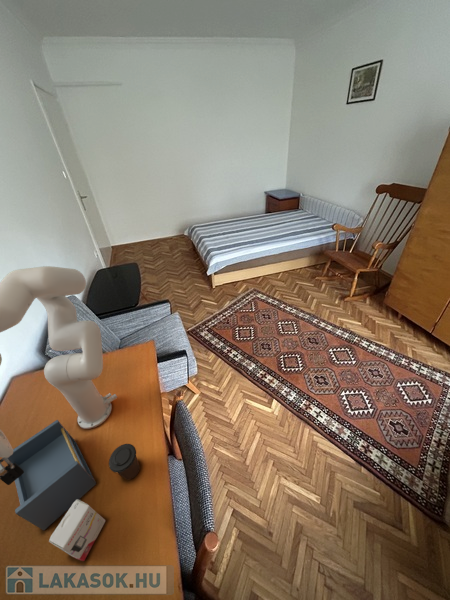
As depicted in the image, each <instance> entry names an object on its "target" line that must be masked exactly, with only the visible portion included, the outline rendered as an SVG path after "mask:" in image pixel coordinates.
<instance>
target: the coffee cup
mask: <svg viewBox="0 0 450 600" xmlns="http://www.w3.org/2000/svg"><path fill="white" fill-rule="evenodd" d="M140 467H141V466H140V463H139V460H138V456H137V448H136V447H135V446H134V444H132V443H123V444H120V445H119V446H117V447H116V448H115V449H114V450H113V451H112V453H111V455H110V457H109V461H108V468H109V469H110V471H111V472H113V473H116V474H118V475H119V476H121V477H122V478H123V479H124V480H130V481H131V480H132V479H135V478H136V477H137V476H138V474H139V472H140Z"/></svg>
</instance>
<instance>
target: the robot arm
mask: <svg viewBox="0 0 450 600" xmlns="http://www.w3.org/2000/svg"><path fill="white" fill-rule="evenodd" d="M86 287H87V281H86V278H85V276H84V274H83V273H82V272H81V271H80V270H78V269H76V268H70V267H60V266H50V265H49V266H47V265H46V266H45V265H43V266H37V267H35V266H34V267H27V268H19V269H15V270H12V271H9V272H8V273H7V274H6V275H5V276H4V277H3V279H2V280H1V281H0V333H3V332H6V331H7V330H9V329H11V328H13V327H15V326H17V325H18V324H20V323H21V321H22V320H23V319H24V317H25V315H26V313H27V312H28V310H29V309H30V307H31V306H32V304H33V302H34V301H35V300H36V299H37V300H38V301H39V302H40V304H42V306H43V307H44V309H45V311H46V316H47V335H48V336H47V337H48V344H49V347H50V349H52V350H53V351H56V352H66V351H74V350H81V351H82V352H76V353H75V352H74V353H66V354H61V355H56V356H54V357H52V358H50V359H48V361H46V364H45V365H44V368H43V374H44V375H43V376H44V378H45V379H46V381H47V382H48V383H49V384H50V385H51V386H53V387H54V388H55V389H57V391H59V392H60V393H61V394H62V396H63V397H64V398H65V400H66V401H67V402H68V404H69V405H70V406H71V408H72V409H73V410H74V411H75V413H76V414H77V424H78V426H79V427H80V428H81V429H84V430H90V429H94V428H96V427H98V426H100V425H101V424H103V423H104V422H105V421H106V420H107V419H108V418H109V416H110V414H111V412H112V409H113V406H112V402H114V401H115V400H116V399H118V396H117V394H116V393H114V394H112V393H111V392H109V393H108V394H106V395H104V396H103V395H102V394H101V392H100V391H99V389H98V388H97V387H96V385H95V383H94V381H93V380H95V379H98V378H99V377H100V376H101V375H102V374H103V370H104V357H103V355H104V354H103V340H102V332H101V328H100V327H99V324H97V323H96V322H95V321H94V320H89V319H88V320H78V315H77V314H78V313H77V307H76V306H75V305H74V303H73V302H72V301H71V300H70V299H69V298H68V297H67V296H75V295H80V294H81V293H83V292H84V291H85V289H86ZM2 361H3V357H2V354H1V353H0V366H1V364H2ZM13 449H14V448H13V446H12V445H11V443H10V441H9V439H8V437H7V435H6V434H5V432H4V431H3V430H2V429H1V428H0V458H1V459H0V481H1V482H3V483H4V484H5V485H7V486H10V485H11V484H12V483H15V480H16V479H17V478H18V477H20V476H21V475H22V474H23V473H24V471H23V470H22V469H21V468H20V467H19V466H18V465H17V464H15V463H12V462H11V461H10V460H9V459H8V457H9V456H11V455H12V454H13ZM3 462H5V463H6V464H7V465H6V466H4V465H3V464H2V463H3Z"/></svg>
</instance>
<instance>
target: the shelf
mask: <svg viewBox="0 0 450 600" xmlns="http://www.w3.org/2000/svg"><path fill="white" fill-rule="evenodd" d="M8 459H9V460H10V461H11V462H12V463H15V464H17V465H18V466H19V467H20V468H21V469H22V470H23V471H24V473H23V474H22V475H21V476H20V477H18V478H17V479H16V480H15V481H14V483H15V488H16V492H17V497H18V500H19V506H17V507H16V508H15V509H14V513H15V515H17V516H19V517H21V518H22V519H23V520H25V521H27V522H29V523H30V524H32V525H33V526H35V527H37V528H38V529H40V530H42V531H45V530H47V529H48V528H49V527H50V526H51V525H52V524H53V523H54V522H55V521H57V520H58V519H59V518H60V517H61V516H62V515H63V514H65V513H66V512H67V511H68V510H69V509H70V507H71V506H72V504H73V503H74V502H75V501H76V500H77V499H78V500H81V499H82V498H83V496H85V495H86V494H87V493H88V492H89V491H90V490H91V489H92V488H93V487H95V486H96V485H97V482H96V480H95V478H94V475H93V473H92V471H91V469H90V467H89V465H88V463H87V461H86V459H85V457H84V455H83V453H82V451H81V449H80V447H79V445H78V443H77V441H76V439H75V438H74V437H73V436H72V435H71V433H69V431H68V430H67V429H66V427H65V426H64V425H63V424H62V423H61V422H60V420H59V419H56V420H54V421H53V422H52V423H50V424H49V425H47V426H45V427H44V428H42V429H41V430H40V431H38V432H36V433H35V434H34V435H32V436H31V437H29V438H28V439H26V440H25V441H23V442H22V443H21V444H19V445H18V446H16V447H15V448H13V454H12V455H11V456H9V457H8Z"/></svg>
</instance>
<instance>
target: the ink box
mask: <svg viewBox="0 0 450 600" xmlns="http://www.w3.org/2000/svg"><path fill="white" fill-rule="evenodd" d="M105 524H106V519H105V518H104V517H102V516H101V514H99V513H98V512H97V511H96V510H95V509H93V508H92V507H91V506H90V505H89V504H88V503H86V502H84V501H82V500H81V499H79V500H78V499H77V500H76V501H75V502H74V503H73V504H72V506H71V507H70V508H69V509H68V510H67V511H66V512H65V514H64V516H63V517H62V519H61V521H60V522H59V523H58V525H57V526H56V528H55V529H54V531H53V532H52V534H51V535H50V537H49V540H48V543H50V544H52V545H53V546H54V547H56V548H58V549H60V550H61V551H62V552H65V553H66V554H67V555H68V556H70V557H72V558H74V559H76V560H78V561H81V562H85V560H86V558H87V556H88V555H89V554H90V551H91V549H92V548H93V545H94V544H95V541H96V540H97V538H98V536H99V534H100V532H101V530H102V528H103V527H104V525H105Z"/></svg>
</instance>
